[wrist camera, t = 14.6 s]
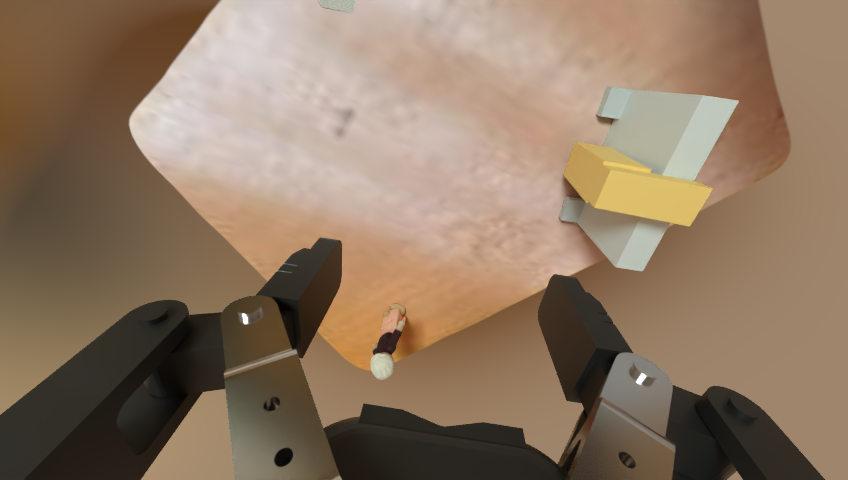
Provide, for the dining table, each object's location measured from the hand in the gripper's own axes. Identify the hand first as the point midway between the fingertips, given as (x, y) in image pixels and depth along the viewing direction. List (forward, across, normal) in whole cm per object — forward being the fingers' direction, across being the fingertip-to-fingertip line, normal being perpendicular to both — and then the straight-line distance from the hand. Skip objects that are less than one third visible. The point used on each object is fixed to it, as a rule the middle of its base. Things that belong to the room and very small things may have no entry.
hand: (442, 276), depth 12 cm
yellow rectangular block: (+28, -19, 0) cm, 34 cm away
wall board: (+30, -20, 0) cm, 36 cm away
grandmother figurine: (+30, +4, +29) cm, 42 cm away
